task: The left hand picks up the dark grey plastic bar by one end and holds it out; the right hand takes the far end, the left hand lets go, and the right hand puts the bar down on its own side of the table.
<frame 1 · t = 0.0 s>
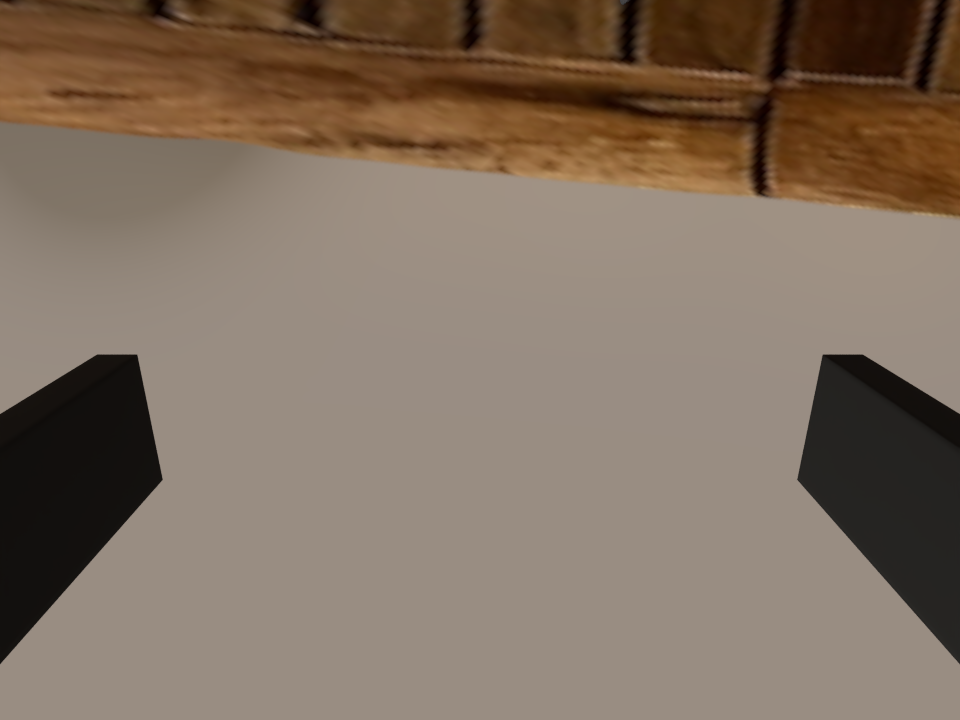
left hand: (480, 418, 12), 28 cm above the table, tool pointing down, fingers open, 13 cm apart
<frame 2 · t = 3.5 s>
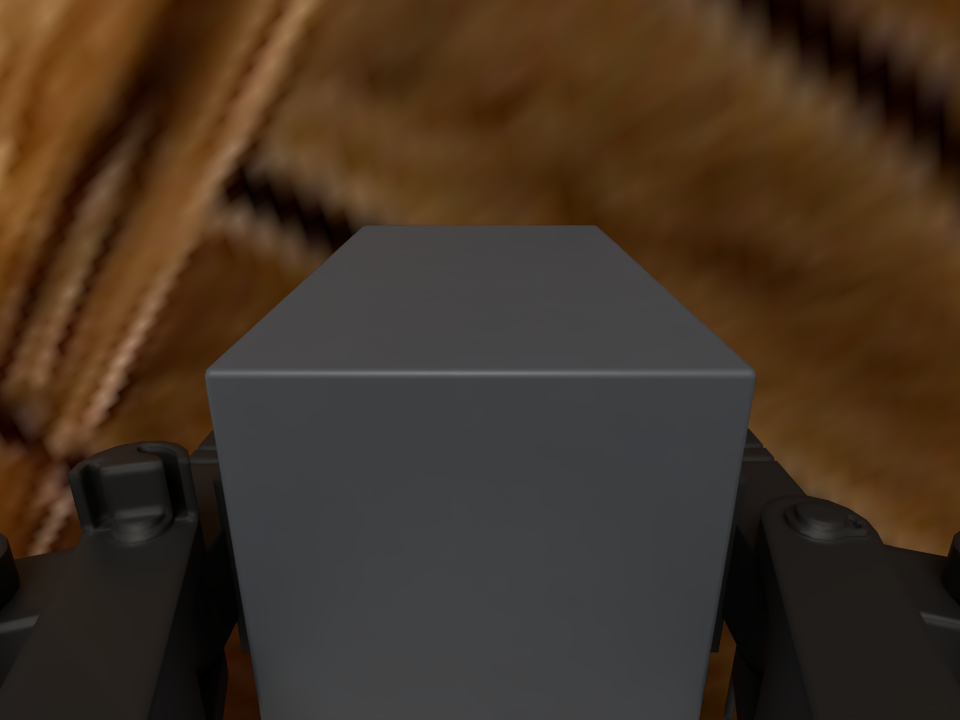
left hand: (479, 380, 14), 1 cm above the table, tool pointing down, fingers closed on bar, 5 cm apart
bar: (480, 657, 18), on the table, touching left hand
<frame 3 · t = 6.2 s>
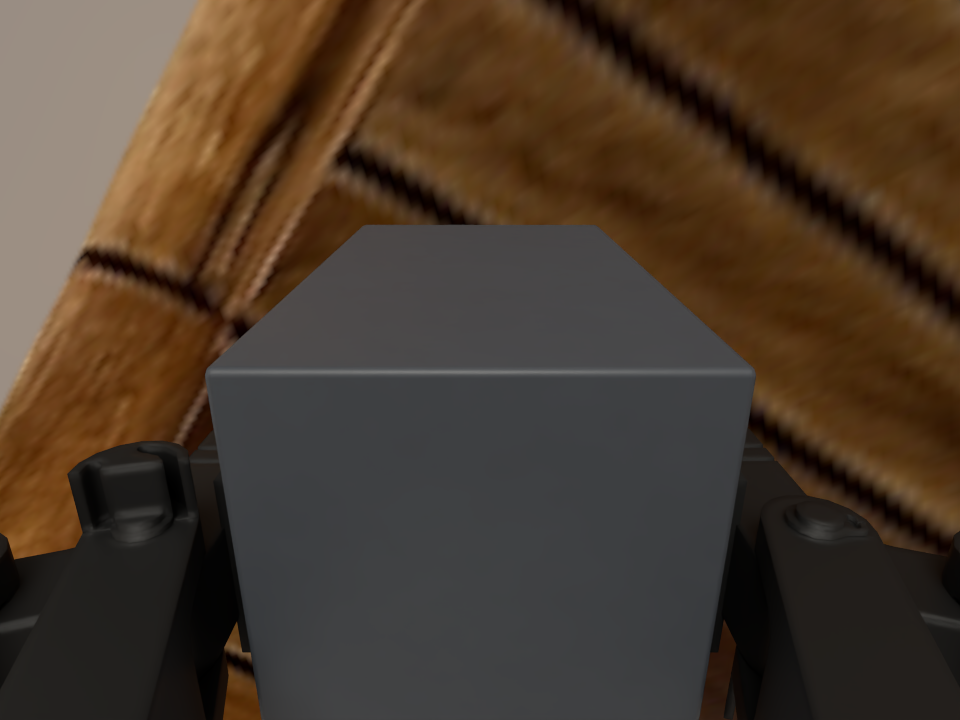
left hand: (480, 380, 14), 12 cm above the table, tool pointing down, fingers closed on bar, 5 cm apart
bar: (480, 656, 18), point 12 cm above the table, touching left hand
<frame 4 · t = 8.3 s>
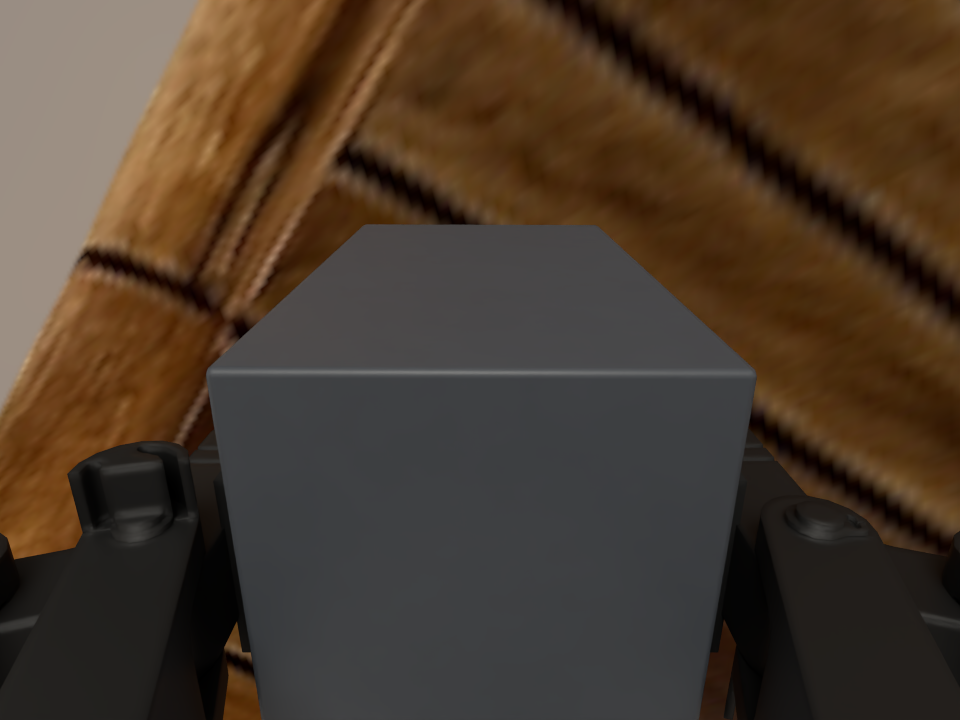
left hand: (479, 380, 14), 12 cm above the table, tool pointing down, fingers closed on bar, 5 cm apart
bar: (479, 656, 18), point 12 cm above the table, touching left hand, right hand
when the left hand's fingers open (12 cm above the table, at t = 9.1 s): bar stays where it is, held by the right hand.
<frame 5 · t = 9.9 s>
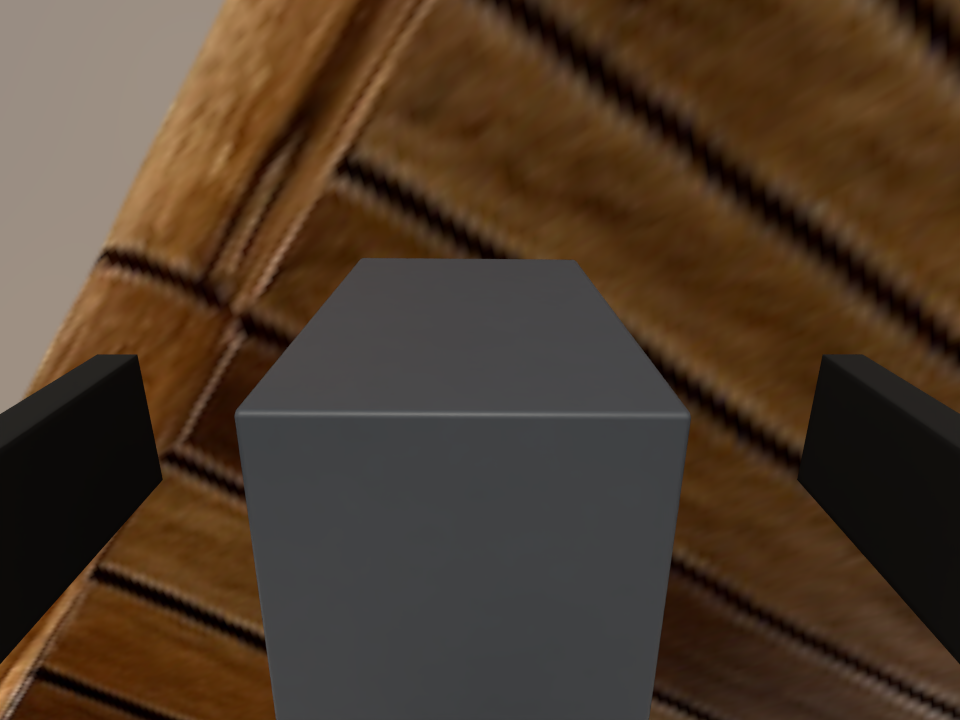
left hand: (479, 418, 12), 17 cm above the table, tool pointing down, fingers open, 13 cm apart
bar: (466, 657, 19), point 13 cm above the table, touching right hand
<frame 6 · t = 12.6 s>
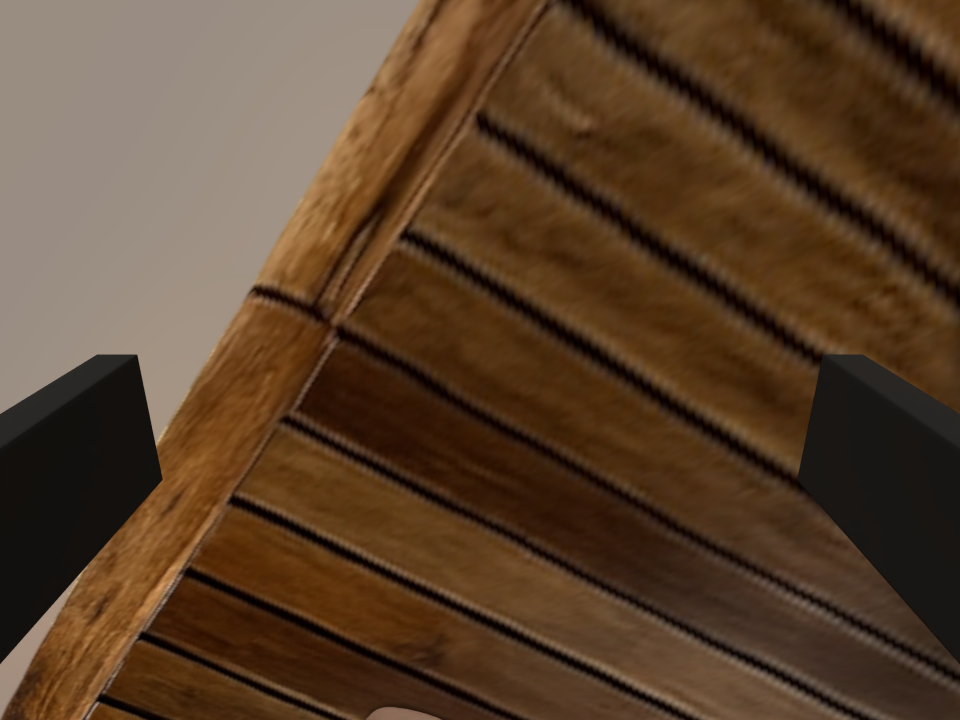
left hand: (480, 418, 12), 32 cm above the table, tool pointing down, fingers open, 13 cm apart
when the right hand's fingers open (2 cm above the table, at t = 16.7 s): bar drops 2 cm, on the table.
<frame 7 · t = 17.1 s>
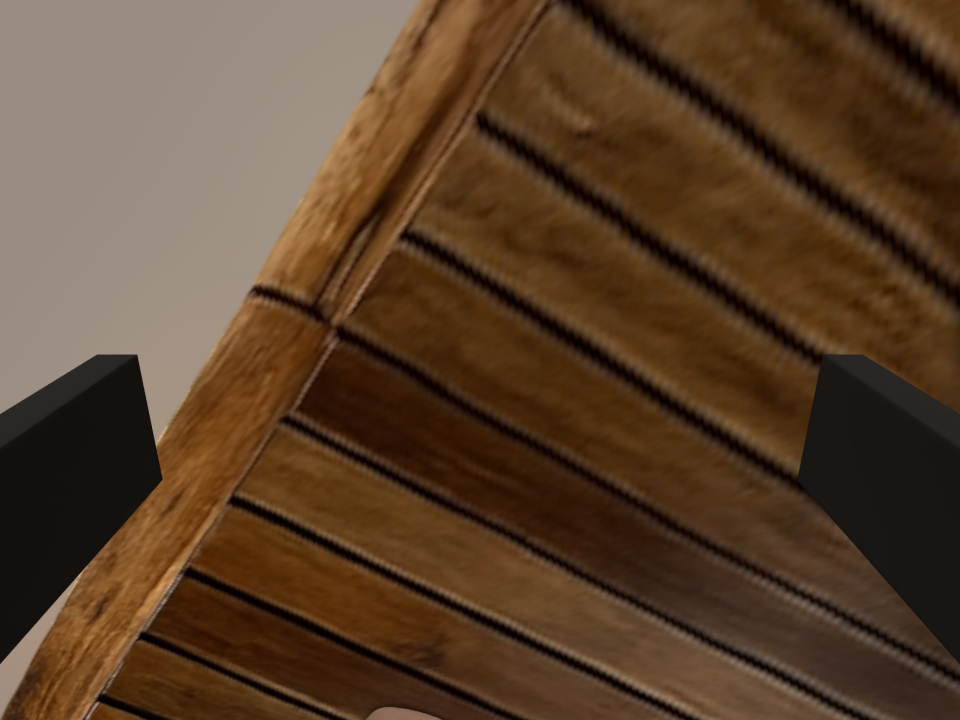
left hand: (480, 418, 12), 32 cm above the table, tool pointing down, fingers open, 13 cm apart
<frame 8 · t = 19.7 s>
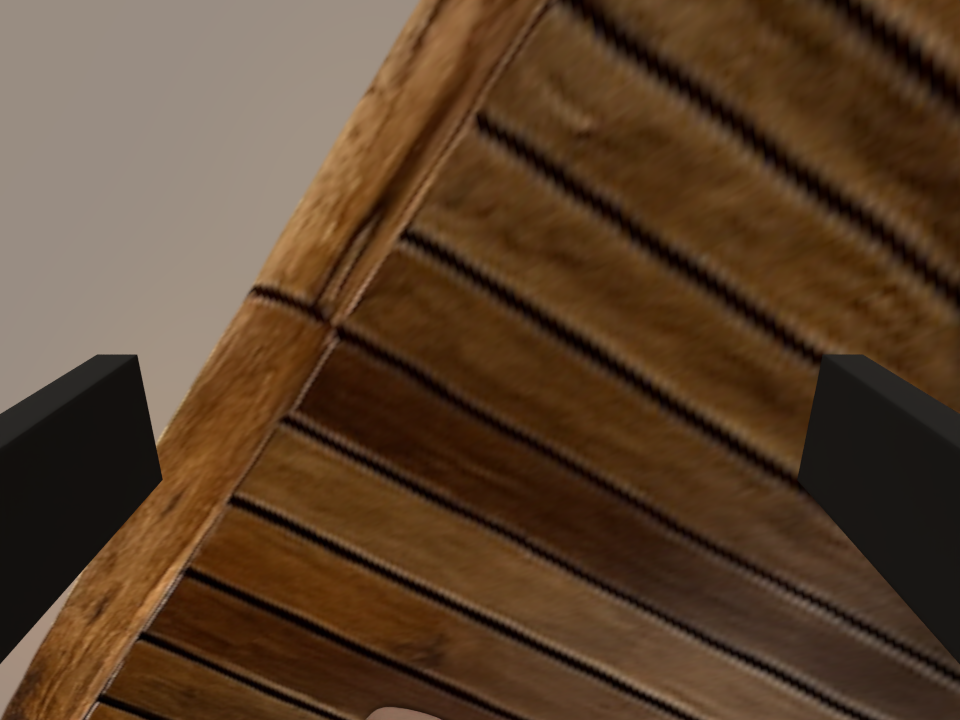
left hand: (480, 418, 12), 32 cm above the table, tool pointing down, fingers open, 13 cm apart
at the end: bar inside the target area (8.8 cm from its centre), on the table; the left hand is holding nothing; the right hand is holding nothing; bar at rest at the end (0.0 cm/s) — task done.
